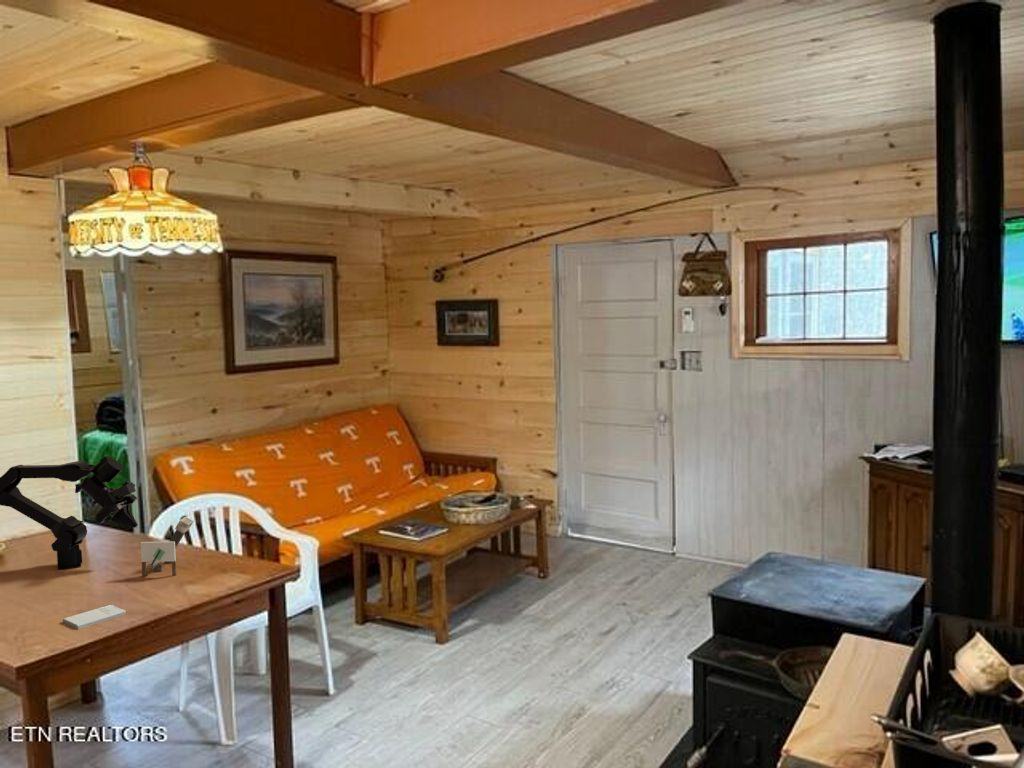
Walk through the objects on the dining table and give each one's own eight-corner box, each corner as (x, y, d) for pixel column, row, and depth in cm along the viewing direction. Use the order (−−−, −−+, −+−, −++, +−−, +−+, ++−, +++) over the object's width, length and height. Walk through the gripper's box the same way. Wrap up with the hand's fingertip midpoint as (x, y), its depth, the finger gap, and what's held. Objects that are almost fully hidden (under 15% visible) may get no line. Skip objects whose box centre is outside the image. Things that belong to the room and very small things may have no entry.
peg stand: (142, 576, 242) (141, 561, 242) (161, 562, 256) (160, 548, 256) (175, 575, 242) (175, 561, 242) (193, 561, 256) (192, 547, 256)
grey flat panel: (141, 561, 241) (140, 542, 241) (142, 561, 242) (141, 542, 242) (174, 561, 242) (173, 542, 241) (175, 560, 242) (174, 541, 242)
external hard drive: (62, 624, 206) (110, 609, 216) (78, 631, 201) (126, 616, 211) (62, 618, 205) (110, 603, 215) (77, 625, 201) (125, 610, 211)
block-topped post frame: (144, 567, 241) (167, 528, 240) (163, 553, 255) (185, 516, 254) (152, 572, 241) (175, 533, 240) (172, 557, 255) (193, 521, 255)
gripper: (104, 479, 242) (142, 515, 243) (130, 469, 260) (165, 502, 262) (78, 505, 242) (116, 540, 243) (106, 493, 260) (141, 526, 262)
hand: (136, 526), depth 252 cm, fingers closed
